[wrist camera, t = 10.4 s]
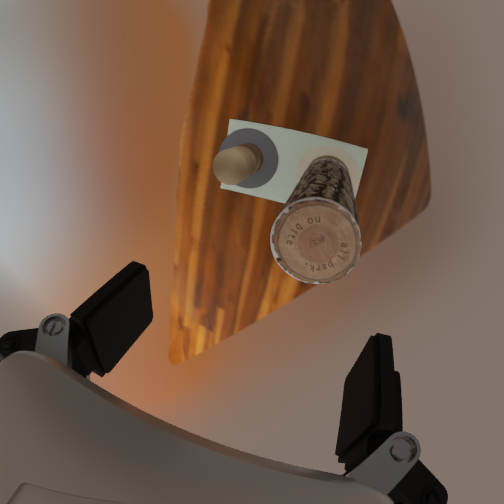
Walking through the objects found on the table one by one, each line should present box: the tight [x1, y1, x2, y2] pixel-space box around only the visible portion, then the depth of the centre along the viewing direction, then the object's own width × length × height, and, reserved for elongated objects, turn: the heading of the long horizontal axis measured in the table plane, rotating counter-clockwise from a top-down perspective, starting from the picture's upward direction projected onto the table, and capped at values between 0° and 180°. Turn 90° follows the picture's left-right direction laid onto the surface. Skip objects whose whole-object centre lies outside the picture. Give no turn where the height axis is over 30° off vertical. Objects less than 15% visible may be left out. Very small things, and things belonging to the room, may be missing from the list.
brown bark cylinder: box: [270, 155, 361, 284], centre depth 31 cm, size 7×7×25 cm
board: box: [219, 119, 368, 203], centre depth 44 cm, size 12×23×1 cm, turn 81°
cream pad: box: [296, 146, 360, 195], centre depth 42 cm, size 10×10×1 cm
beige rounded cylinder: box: [213, 143, 263, 185], centre depth 41 cm, size 5×5×8 cm
